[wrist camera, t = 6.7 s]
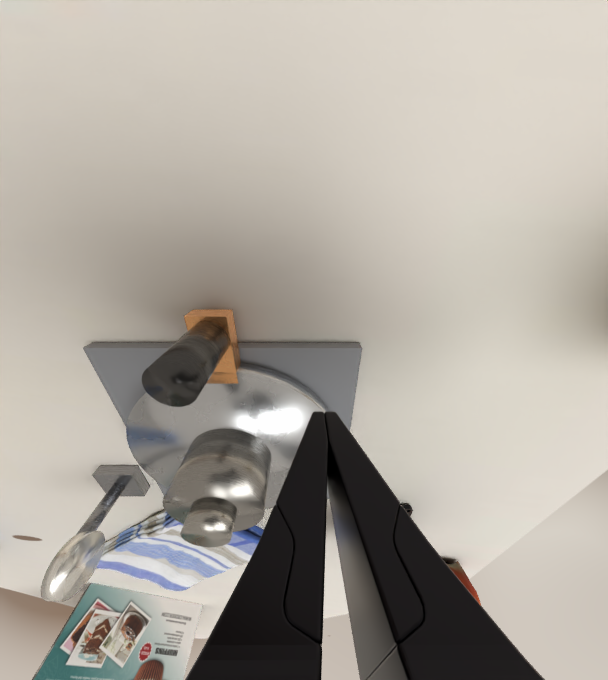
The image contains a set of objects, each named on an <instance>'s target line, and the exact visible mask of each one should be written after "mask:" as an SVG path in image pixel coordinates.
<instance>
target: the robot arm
mask: <svg viewBox="0 0 608 680" xmlns="http://www.w3.org/2000/svg"><path fill="white" fill-rule="evenodd" d="M327 486H328V492H329V498H330V504H331V510H332V516H333V522H334V528H335V534H336V540H337V546H338V551H339V557H340V563H341V569H342V575H343V581H344V587H345V593H346V599H347V605H348V611H349V616H350V622H351V628H352V634H353V640H354V646H355V652H356V658H357V663H358V670H359V675H360V680H545V679H544V678H543V677H542V676H541V675H540V674H539V673H538V672H537V671H536V670H535V669H534V668H533V667H532V665H531V664H530V663H529V662H528V661H527V660H526V659H525V658H524V657H523V655H522V654H521V653H520V652H519V651H518V649H517V648H516V647H515V646H514V645H513V644H512V642H511V641H510V640H509V639H508V638H507V636H506V635H505V634H504V633H503V632H502V631H501V629H500V628H499V627H498V626H497V624H496V623H495V622H494V621H493V620H492V618H491V617H490V616H489V615H488V614H487V612H486V611H485V610H484V609H483V607H482V606H481V605H480V604H479V603H478V601H477V600H476V599H475V598H474V597H473V595H472V594H471V593H470V592H469V591H468V589H467V588H466V587H465V586H464V585H463V583H462V582H461V581H460V580H459V579H458V577H457V576H456V575H455V574H454V573H453V571H452V570H451V569H450V568H449V566H448V565H447V564H446V563H445V562H444V560H443V559H442V558H441V557H440V555H439V554H438V553H437V552H436V550H435V549H434V548H433V547H432V545H431V544H430V543H429V542H428V540H427V539H426V537H425V536H424V535H423V533H422V532H421V531H420V529H419V528H418V527H417V525H416V524H415V523H414V521H413V520H412V519H411V517H410V516H411V514H412V511H413V510H412V507H411V506H410V505H400V502H399V500H398V499H397V497H396V496H395V495H394V493H393V492H392V490H391V489H390V488H389V486H388V485H387V483H386V482H385V481H384V479H383V478H382V476H381V475H380V474H379V472H378V471H377V469H376V468H375V466H374V465H373V464H372V462H371V461H370V459H369V458H368V457H367V455H366V454H365V452H364V451H363V450H362V448H361V447H360V445H359V444H358V442H357V441H356V440H355V438H354V437H353V435H352V434H351V433H350V431H349V430H348V428H347V427H346V426H345V424H344V423H343V421H342V420H341V418H340V417H339V416H338V414H337V413H336V412H334V411H326V412H325V413H324V412H322V411H314V412H313V413H312V415H311V417H310V420H309V422H308V425H307V427H306V430H305V432H304V435H303V437H302V439H301V442H300V444H299V447H298V449H297V452H296V454H295V457H294V459H293V461H292V464H291V466H290V469H289V471H288V474H287V476H286V479H285V481H284V484H283V486H282V488H281V491H280V493H279V496H278V498H277V501H276V505H275V506H274V508H273V510H272V512H271V515H270V517H269V520H268V522H267V524H266V527H265V529H264V531H263V533H262V536H261V538H260V540H259V542H258V545H257V547H256V549H255V551H254V553H253V555H252V557H251V559H250V561H249V563H248V565H247V567H246V569H245V571H244V572H243V574H242V576H241V578H240V580H239V582H238V584H237V586H236V587H235V589H234V591H233V593H232V595H231V597H230V599H229V601H228V603H227V604H226V606H225V608H224V610H223V612H222V614H221V616H220V618H219V619H218V621H217V623H216V625H215V627H214V629H213V631H212V633H211V635H210V636H209V638H208V640H207V642H206V644H205V646H204V648H203V649H202V651H201V653H200V655H199V657H198V658H197V660H196V662H195V664H194V665H193V667H192V669H191V671H190V672H189V674H188V676H187V678H186V679H185V680H321V665H322V647H321V646H322V634H323V602H324V571H325V539H326V508H327Z"/></svg>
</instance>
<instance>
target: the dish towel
mask: <svg viewBox="0 0 608 680" xmlns="http://www.w3.org/2000/svg"><path fill="white" fill-rule="evenodd" d="M183 525H184V524H182V523H180V522H178V521H176V520H175V519H173V518H172V517H171V516H170V515H169V514H168V513H167V512H166V510H164V511H162V512H159V513H158V514H156V515H155V516H153V517H150V518H149V519H147V520H146V521H144V522H142V523H140V524H138V525H136V526H133V527H130V528H129V529H127V530H125V531H124V532H122V533H120V534H119V535H118V536H116V537H115V538H113V539H111V540H109V541H107V542H105V545H104V550H103V553H102V556H101V559H100V561H99V563H98V565H97V567H96V568H101V569H107V570H112V571H116V572H119V573H121V574H126V575H129V576H131V577H134V578H136V579H142V580H147V581H150V582H152V583H155V584H157V585H159V586H160V587H162V588H164V589H166V590H171V591H183V590H186V589H188V588H190V587H191V586H193V585H194V584H196V583H197V582H200V581H202V580H204V579H206V578H209V577H212V576H214V575H216V574H219V573H222V572H225V571H226V570H228V569H231V568H233V567H236V566H239V565H243V564H246V563H248V562H249V561H250V559H251V557H252V555H253V553H254V551H255V549H256V547H257V545H258V542H259V540H260V538H261V536H262V533H263V531H264V530H263V529H261V528H259V527H257V526H256V525H255V526H253V527H251V528H248V529H245V530H242V531H237V532H233V533H232V537H231V541H230V542H229V543H228V544H226V545H223V546H220V547H201V546H197V545H193V544H191V543H188V542H187V541H185V540H184V539H183V538H182V537H181V535H180V533H181V530H182V527H183Z"/></svg>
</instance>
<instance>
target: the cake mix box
mask: <svg viewBox="0 0 608 680" xmlns="http://www.w3.org/2000/svg"><path fill="white" fill-rule="evenodd" d="M202 607H203V604H198V603H193V602H188V601H183V600H177V599H172V598H167V597H162V596H157V595H152V594H147V593H142V592H136V591H131V590H126V589H121V588H116V587H111V586H106V585H100V584H95V583H91V584H90V585H89V587H88V588H87V589H86V591H85V592H84V594H83V595H82V597H81V599H80V600H79V602H78V604H77V605H76V607H75V609H74V610H73V612H72V614H71V615H70V617H69V619H68V620H67V622H66V624H65V625H64V627H63V629H62V630H61V632H60V634H59V635H58V637H57V639H56V640H55V642H54V644H53V645H52V647H51V649H50V650H49V652H48V654H47V655H46V657H45V659H44V660H43V662H42V664H41V665H40V667H39V669H38V670H37V672H36V674H35V675H34V677H33V679H32V680H183V678H184V674H185V671H186V667H187V663H188V659H189V655H190V652H191V648H192V644H193V640H194V637H195V633H196V629H197V626H198V622H199V618H200V614H201V611H202Z"/></svg>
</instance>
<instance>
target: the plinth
mask: <svg viewBox="0 0 608 680" xmlns="http://www.w3.org/2000/svg"><path fill="white" fill-rule="evenodd" d="M173 344H174V343H91V344H89V345H87V346H85V347H84V348H83V349H84V351H85V353H86V355H87V356H88V358H89V360H90V362H91V364H92V365H93V367H94V369H95V371H96V373H97V375H98V376H99V378H100V380H101V382H102V384H103V385H104V387H105V389H106V391H107V393H108V395H109V396H110V398H111V400H112V402H113V404H114V405H115V407H116V409H117V411H118V413H119V415H120V416H121V418H122V420H123V422H124V424H125V425H126V427H127V421H128V418H129V415H130V413H131V410H132V409H133V407H134V406H135V404H136V403H137V401H138V400H139V399H140V398H141V397H142V396H143V395H144V394H145V393H146V391H145V389H144V387H143V385H142V374H143V372H144V371H145V370H146V369H147V368H148V367H149V366H150V365H151V364H152V363H153V362H154V361H156V360H157V359H158V358H159V357H160V356H161V355H162V354H163V353H164V352H166V351H167V350H168V349H169V348H170V347H171V346H172V345H173ZM238 348H239V354H240V360H241V363H244V364H250V365H256V366H260V367H264V368H267V369H271V370H274V371H276V372H279V373H281V374H284V375H286V376H288V377H290V378H292V379H294V380H296V381H298V382H300V383H301V384H303V385H304V386H305V387H307V388H308V389H310V390H311V391H312V392H313V393H314V394H316V395H317V396H318V397H319V398H320V399H321V400H322V401H323V403H324V404H325V405H326V406H327V407H328V409H329V411H334V412H336V413H337V414H338V416H339V417H340V418H341V420H342V421H343V423H344V424H345V426H346V427H347V428H348V430H349V431H350V427H351V420H352V413H353V406H354V399H355V393H356V386H357V379H358V372H359V365H360V359H361V352H362V347H361V345H360V343H238ZM156 482H157V481H156ZM157 484H158V485H159V487H160V489H161V491H162V493H163V495H165V494H166V492H167V490H168V488H166V487H165V486H163V485H162V484H160V483H159V482H157ZM327 499H330V498H329V492H328V486H327Z"/></svg>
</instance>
